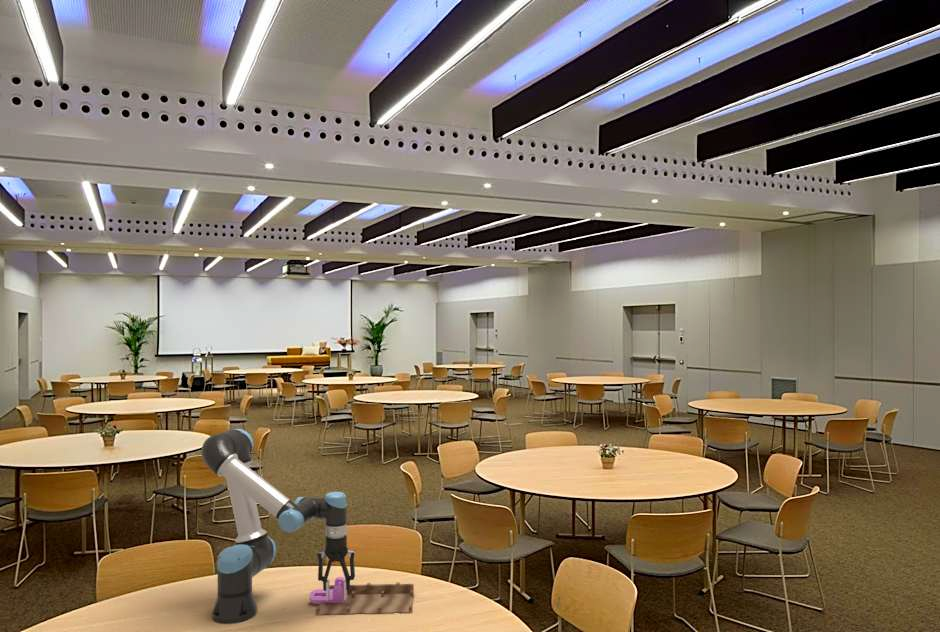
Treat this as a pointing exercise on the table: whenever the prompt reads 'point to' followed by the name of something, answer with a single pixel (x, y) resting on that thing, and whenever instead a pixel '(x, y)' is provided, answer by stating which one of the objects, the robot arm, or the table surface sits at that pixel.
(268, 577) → the table surface
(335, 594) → the bracket
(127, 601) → the table surface
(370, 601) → the ledge
